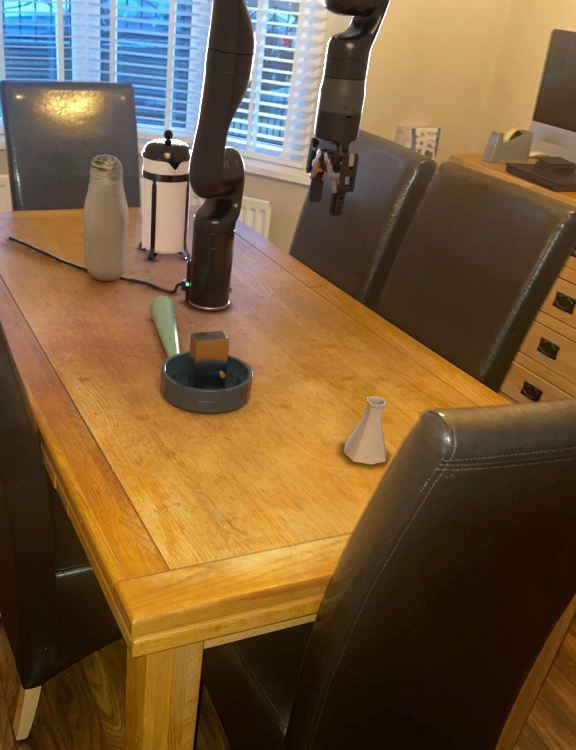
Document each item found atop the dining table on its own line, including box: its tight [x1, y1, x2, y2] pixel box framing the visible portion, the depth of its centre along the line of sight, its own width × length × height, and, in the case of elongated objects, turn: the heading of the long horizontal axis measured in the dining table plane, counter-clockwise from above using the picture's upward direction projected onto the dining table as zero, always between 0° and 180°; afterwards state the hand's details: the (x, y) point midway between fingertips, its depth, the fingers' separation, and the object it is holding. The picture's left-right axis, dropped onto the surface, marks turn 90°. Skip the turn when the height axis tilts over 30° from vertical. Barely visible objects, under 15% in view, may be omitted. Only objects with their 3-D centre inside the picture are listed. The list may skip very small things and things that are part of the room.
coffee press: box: [138, 129, 192, 261], centre depth 200 cm, size 17×16×30 cm
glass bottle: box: [82, 154, 130, 282], centre depth 181 cm, size 10×10×28 cm
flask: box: [343, 395, 387, 465], centre depth 127 cm, size 7×7×10 cm
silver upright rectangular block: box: [186, 330, 230, 390], centre depth 140 cm, size 6×5×11 cm
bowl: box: [160, 350, 254, 415], centre depth 143 cm, size 16×16×5 cm
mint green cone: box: [149, 295, 181, 359], centre depth 159 cm, size 5×6×27 cm
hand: (324, 208), depth 140 cm, fingers open, 8 cm apart
